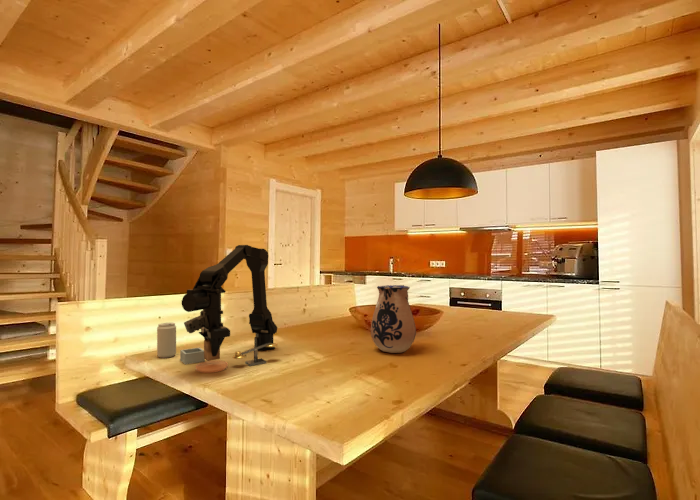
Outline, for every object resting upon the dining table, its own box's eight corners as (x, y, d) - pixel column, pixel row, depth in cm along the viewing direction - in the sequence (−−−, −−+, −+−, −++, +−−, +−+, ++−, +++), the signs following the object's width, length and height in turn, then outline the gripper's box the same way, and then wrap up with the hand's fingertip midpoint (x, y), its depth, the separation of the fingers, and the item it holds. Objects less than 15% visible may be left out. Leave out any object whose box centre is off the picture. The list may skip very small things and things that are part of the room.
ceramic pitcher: (364, 353, 152) (364, 287, 152) (381, 342, 172) (381, 283, 172) (410, 358, 145) (409, 288, 145) (422, 345, 165) (422, 284, 165)
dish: (222, 362, 140) (222, 358, 140) (232, 369, 132) (232, 365, 132) (192, 367, 134) (192, 363, 134) (200, 374, 126) (200, 370, 126)
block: (216, 356, 136) (216, 338, 136) (219, 358, 133) (219, 340, 133) (204, 358, 134) (204, 340, 134) (207, 360, 130) (207, 342, 130)
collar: (199, 357, 147) (199, 347, 147) (204, 361, 141) (204, 351, 141) (180, 360, 143) (180, 350, 143) (185, 364, 137) (185, 354, 137)
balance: (274, 358, 145) (274, 340, 145) (279, 361, 142) (279, 342, 142) (230, 365, 136) (230, 346, 136) (235, 368, 132) (235, 349, 132)
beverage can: (168, 358, 145) (168, 325, 145) (153, 358, 146) (153, 324, 146) (179, 354, 151) (179, 322, 151) (164, 353, 152) (164, 321, 152)
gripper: (179, 306, 136) (179, 352, 136) (194, 313, 121) (194, 365, 121) (212, 303, 143) (212, 348, 143) (230, 310, 127) (230, 359, 128)
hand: (212, 354), depth 133 cm, fingers closed on block, 4 cm apart
